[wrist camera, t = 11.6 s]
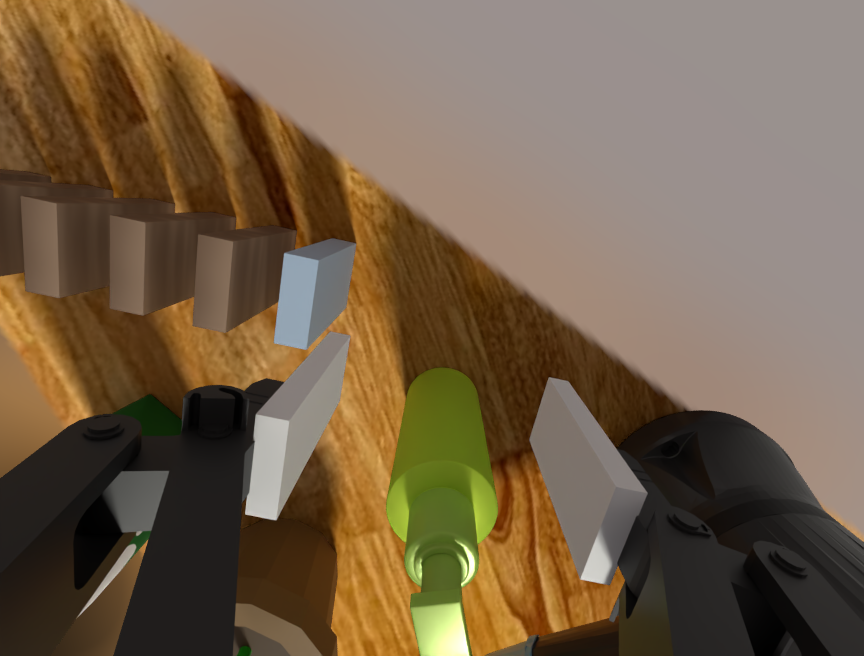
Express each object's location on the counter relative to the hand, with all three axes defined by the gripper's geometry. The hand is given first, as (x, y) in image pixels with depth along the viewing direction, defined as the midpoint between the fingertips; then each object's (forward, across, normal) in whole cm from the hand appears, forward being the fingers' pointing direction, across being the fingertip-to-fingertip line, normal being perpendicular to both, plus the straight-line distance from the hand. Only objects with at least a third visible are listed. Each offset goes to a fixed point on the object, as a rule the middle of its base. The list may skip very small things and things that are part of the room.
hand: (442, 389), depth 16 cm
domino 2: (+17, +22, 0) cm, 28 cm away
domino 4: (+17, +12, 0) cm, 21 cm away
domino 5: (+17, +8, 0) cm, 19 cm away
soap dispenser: (+17, -2, +9) cm, 20 cm away
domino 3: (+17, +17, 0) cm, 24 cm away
